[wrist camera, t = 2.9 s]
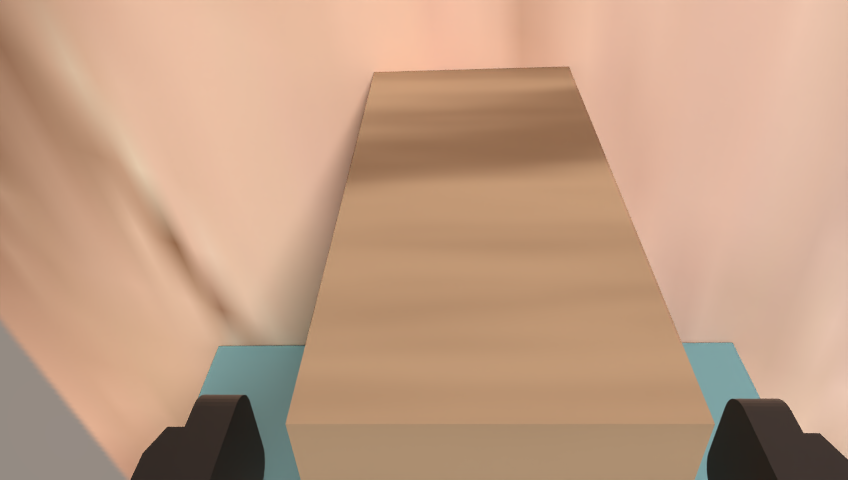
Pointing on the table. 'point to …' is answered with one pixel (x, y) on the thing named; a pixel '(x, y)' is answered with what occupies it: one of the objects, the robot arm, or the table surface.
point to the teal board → (279, 365)
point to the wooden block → (490, 300)
